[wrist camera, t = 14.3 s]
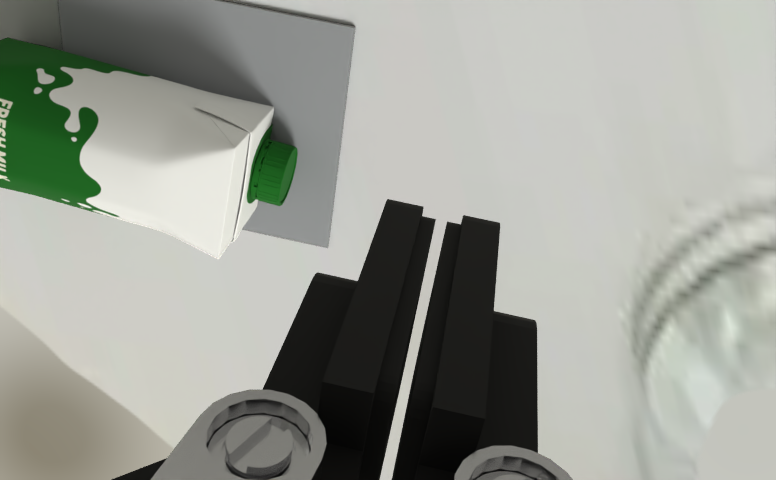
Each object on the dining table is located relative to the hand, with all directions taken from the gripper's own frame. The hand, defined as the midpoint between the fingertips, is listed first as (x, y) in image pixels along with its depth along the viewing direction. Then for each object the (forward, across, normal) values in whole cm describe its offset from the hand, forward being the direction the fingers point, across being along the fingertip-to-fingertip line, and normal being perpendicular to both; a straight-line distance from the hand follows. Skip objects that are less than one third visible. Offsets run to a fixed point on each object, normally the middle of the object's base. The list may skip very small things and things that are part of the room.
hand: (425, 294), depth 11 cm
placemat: (+35, +17, +15) cm, 42 cm away
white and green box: (+30, +30, +15) cm, 45 cm away
